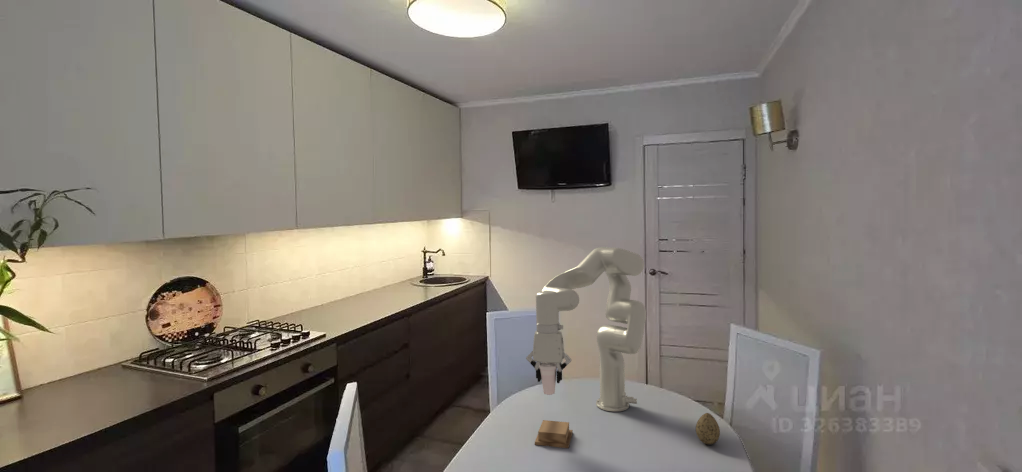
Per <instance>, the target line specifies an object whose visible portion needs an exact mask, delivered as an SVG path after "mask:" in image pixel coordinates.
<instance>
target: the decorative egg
mask: <svg viewBox="0 0 1022 472" xmlns="http://www.w3.org/2000/svg"><path fill="white" fill-rule="evenodd" d="M695 432H696V435H697V438H698V440H699V441H700V442H702V443H703V444H704V445H709V446H710V445H714V444H716V443H717V442H718V441H719V439H720V435H721V429H720V426H719V423H718V421H717V420H716V418H715V417H714V416H713V415H712V413H709V412H705V413H703V414H702V415H701V416H699V418H698V420H697V422H696V424H695Z"/></svg>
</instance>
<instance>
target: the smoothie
mask: <svg viewBox="0 0 1022 472" xmlns="http://www.w3.org/2000/svg"><path fill="white" fill-rule="evenodd" d="M539 369H540V373H541V384H542V389H543V390H542V391H543V394H544V395H547V396H548V395H549V396H552V395H554V394H556V393H555V392H556V383H557V366H556V364H555V363H544V362H541V363H540V365H539Z"/></svg>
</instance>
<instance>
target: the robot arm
mask: <svg viewBox="0 0 1022 472" xmlns="http://www.w3.org/2000/svg"><path fill="white" fill-rule="evenodd" d="M644 268H645V262H644V259H643V257H642V256H641V255H640V254H639V253H636V252H633V251H630V250H627V249H624V248H620V247H606V246H605V247H601V246H600V247H599V246H598V247H596V248H594V249H593V250H591V251H590V253H588V255H586V256H585V258H583V259H582V260H581V261H580V262H579V264H577V266H576V267H573V268H571V269H568V270H566V271H565V272H564V271H563V272H562V273H560V274H558V275H556V276H554V277H553V278H552V279H550V280H549V281H548V282H547V283H546V284H545V285H544V286H543V288H542V289H541V291H538V292H536V295H535V308H536V309H535V311H536V313H535V315H536V316H535V317H536V330H535V331H534V335H533V342H532V343H533V344H532V345H533V346H532V351H531V352H530V353H529V354H528V355H527V356H526V357H525V359H526V361H528V363H529V364H530V365H531V366H532V367H533V368H534V370H535V379H537V383H540V382H542V379H541V373H540V369H539V365H540V363H542V362H544V363H555V364H556V366H557V372H556V383H557V384H560V382H561V381H562V380H563V369H565V368H566V367H567V366H568V365H570V363H571V362H572V358H571V357H570V356H569V355H568V354H567V352H565V345H564V337H563V332H562V331H561V330H564V325H563V324H560V316H559V315H560V312H570V311H574V310H575V309H576V308H577V307H578V305H579V303H580V296H579V293H577V291H575V289H581V288H585V287H586V288H587V287H589V286H592V285H593V284H594V283H595V282H596V281H597V279H599V278H600V277H601V275H602V274H604V272H605V275H606V276H607V279H608V283H609V289H608V294H607V298H606V299H607V300H606V304H605V317H606V319H607V320H608V321H611V322H613V323H617V324H618V323H619V324H624V325H626V327H625V326H619V325H614V324H604V325H601V326H600V327H599V328H598V329H597V332H596V343H597V348H598V354H599V357H598V358H599V398H597V400H595V401H596V402H595V405H596V407H597V408H598V409H601V410H603V411H606V412H618V413H619V412H623V411H626V410H628V409H629V408H630V404H633V405H637V404H638V399H637V398H634V396H628V395H626V394H627V393H626V390H625V389H626V387H625V385H626V383H625V381H626V380H625V369H626V368H625V366H626V365H625V358H624V356H623V354H626V355H627V354H628V355H636V354H637V353H638V352H639V351H640V349H641V346H642V345H643V344H642V343H643V338H644V334H645V333H644V332H645V327H646V326H645V325H646V321H647V309H646V307H645V304H644V303H642V302H641V301H639V300H635V299H631V294H632V293H631V292H632V285H631V282H630V280H629V278H628V276H632V277H635V276H639V275H641V273H642V272H643V271H644ZM563 360H565V361H564V362H563Z"/></svg>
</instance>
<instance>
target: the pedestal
mask: <svg viewBox="0 0 1022 472" xmlns="http://www.w3.org/2000/svg"><path fill="white" fill-rule="evenodd" d="M572 437H573V429H570V422H569V421H557V420H546V419H544V420H542V422H541V424H540V427H539V429H538V432H537V435H536V438H535V440H534V446H540V447H541V446H542V447H543V446H544V447H553V448H560V449H561V448H563V449H569V448H570V444H571V441H572Z"/></svg>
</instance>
